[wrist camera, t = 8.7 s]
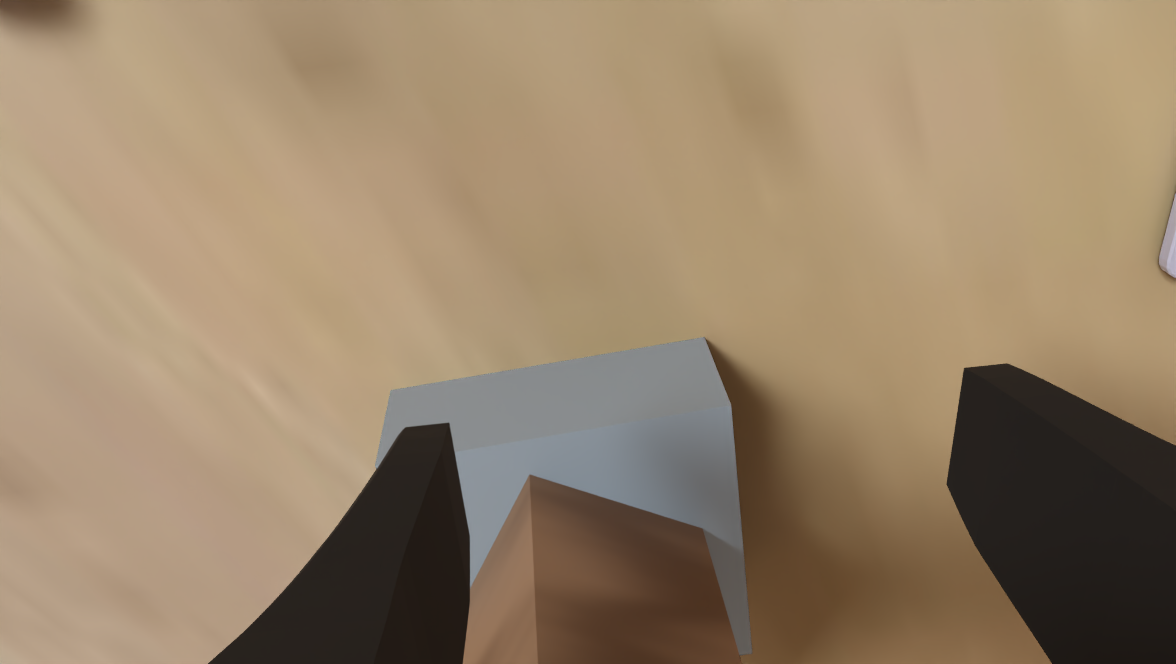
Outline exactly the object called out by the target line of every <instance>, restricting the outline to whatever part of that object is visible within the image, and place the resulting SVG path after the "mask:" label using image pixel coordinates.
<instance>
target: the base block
mask: <svg viewBox="0 0 1176 664" xmlns="http://www.w3.org/2000/svg"><path fill="white" fill-rule="evenodd" d="M440 423H449V424H450V429H451V435H452V440H453V446H454V451H455V457H456V462H457V468H458V473H459V479H460V484H461V490H462V496H463V501H464V507H465V512H466V518H467V523H468V529H469V534H470V588H471V586H472V584H473V582H474V580H475V578H476V576H477V574H478V572H479V570H480V568H481V567H482V565H483V563H484V561H485V559H486V557H487V555H488V553H489V551H490V549H491V547H492V545H493V543H494V542H495V540H496V538H497V536H498V534H499V532H500V530H501V528H502V526H503V524H504V522H505V520H506V518H507V517H508V515H509V513H510V511H511V509H512V507H513V505H514V503H515V501H516V499H517V497H518V495H519V494H520V492H521V490H522V488H523V486H524V484H525V482H526V480H527V478H528V476H529V474H530V475H533V476H536V477H540V478H543V479H546V480H549V481H552V482H556V483H559V484H562V485H565V486H568V487H572V488H575V489H578V490H581V491H584V492H588V493H591V494H594V495H597V496H600V497H604V498H607V499H610V500H613V501H616V502H620V503H623V504H626V505H629V506H633V507H636V508H639V509H642V510H645V511H649V512H652V513H655V514H658V515H661V516H664V517H668V518H671V519H674V520H677V521H680V522H684V523H687V524H690V525H693V526H696V527H700V528H703V532H704V535H705V538H706V542H707V545H708V549H709V552H710V556H711V559H712V562H713V566H714V569H715V573H716V576H717V580H718V583H719V587H720V590H721V593H722V597H723V600H724V604H725V607H726V611H727V614H728V617H729V621H730V624H731V628H732V631H733V635H734V638H735V642H736V645H737V648H738V652H739V655H746V654H752V643H751V632H750V620H749V608H748V596H747V585H746V573H745V561H744V550H743V538H742V526H741V514H740V503H739V491H738V479H737V468H736V456H735V444H734V432H733V421H732V409H731V403H730V401H729V398H728V396H727V393H726V391H725V388H724V386H723V383H722V381H721V378H720V376H719V373H718V371H717V368H716V365H715V363H714V360H713V358H712V355H711V353H710V350H709V348H708V345H707V343H706V340H705V338H704V337H702V338H697V339H691V340H685V341H679V342H673V343H667V344H661V345H655V346H649V347H643V348H637V349H632V350H626V351H620V352H614V353H608V354H602V355H596V356H590V357H584V358H578V359H573V360H567V361H561V362H555V363H549V364H543V365H537V366H531V367H525V368H519V369H514V370H508V371H502V372H496V373H490V374H484V375H478V376H472V377H466V378H460V379H454V380H449V381H443V382H437V383H431V384H425V385H419V386H413V387H407V388H401V389H395V390H391V391H390V396H389V401H388V406H387V411H386V415H385V420H384V425H383V430H382V435H381V440H380V444H379V449H378V454H377V459H376V464H375V467H376V469H377V468H378V466H379V465H380V463H381V462H382V460H383V458H384V457H385V455H386V454H387V452H388V450H389V449H390V447H391V446H392V444H393V443H394V441H395V439H396V438H397V436H398V435H399V434H400V432H401V431H402V430H403V429H404V428H405V427H411V426H421V425H430V424H440Z"/></svg>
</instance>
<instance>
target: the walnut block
mask: <svg viewBox="0 0 1176 664" xmlns="http://www.w3.org/2000/svg"><path fill="white" fill-rule="evenodd" d="M463 664H742V662H741V659H740V655H739V652H738V648H737V645H736V642H735V638H734V635H733V631H732V628H731V624H730V621H729V617H728V614H727V611H726V607H725V604H724V600H723V597H722V593H721V590H720V587H719V583H718V580H717V576H716V573H715V569H714V566H713V562H712V559H711V556H710V552H709V549H708V545H707V542H706V538H705V535H704V532H703V528H700V527H696V526H693V525H690V524H687V523H684V522H680V521H677V520H674V519H671V518H668V517H664V516H661V515H658V514H655V513H652V512H649V511H645V510H642V509H639V508H636V507H633V506H629V505H626V504H623V503H620V502H616V501H613V500H610V499H607V498H604V497H600V496H597V495H594V494H591V493H588V492H584V491H581V490H578V489H575V488H572V487H568V486H565V485H562V484H559V483H556V482H552V481H549V480H546V479H543V478H540V477H536V476H533V475H530V474H529V476H528V478H527V480H526V482H525V484H524V486H523V488H522V490H521V492H520V494H519V495H518V497H517V499H516V501H515V503H514V505H513V507H512V509H511V511H510V513H509V515H508V517H507V518H506V520H505V522H504V524H503V526H502V528H501V530H500V532H499V534H498V536H497V538H496V540H495V542H494V543H493V545H492V547H491V549H490V551H489V553H488V555H487V557H486V559H485V561H484V563H483V565H482V567H481V568H480V570H479V572H478V574H477V576H476V578H475V580H474V582H473V584H472V586H471V588H470V606H469V615H468V624H467V632H466V641H465V649H464V658H463Z"/></svg>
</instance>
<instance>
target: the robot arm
mask: <svg viewBox="0 0 1176 664" xmlns="http://www.w3.org/2000/svg"><path fill="white" fill-rule="evenodd" d="M1159 265H1160V267H1161V269H1162V270H1163V271H1165V272H1166V273H1168V274H1170V275H1171V276H1173V277H1174V278H1176V194H1175V198H1174V202H1173V205H1172V209H1171V213H1170V217H1169V221H1168V225H1167V229H1166V233H1165V237H1164V240H1163V244H1162V248H1161V252H1160V256H1159ZM947 486H948V488H949V491H950V493H951V495H952V497H953V500H954V502H955V504H956V506H957V509H958V511H959V513H960V515H961V518H962V520H963V522H964V524H965V526H966V528H967V530H968V532H969V534H970V536H971V538H972V540H973V542H974V544H975V546H976V548H977V549H978V551H979V552H980V554H981V556H982V557H983V559H984V560H985V562H986V563H987V565H988V567H989V568H990V570H991V571H992V573H993V574H994V576H995V577H996V579H997V580H998V582H999V584H1000V585H1001V587H1002V588H1003V590H1004V591H1005V593H1006V594H1007V596H1008V597H1009V599H1010V600H1011V602H1012V603H1013V605H1014V606H1015V608H1016V609H1017V611H1018V612H1019V614H1020V615H1021V617H1022V618H1023V620H1024V622H1025V623H1026V625H1027V626H1028V628H1029V629H1030V631H1031V632H1032V634H1033V635H1034V637H1035V638H1036V640H1037V641H1038V643H1039V644H1040V646H1041V647H1042V649H1043V650H1044V652H1045V653H1046V655H1047V656H1048V658H1049V659H1050V661H1051V662H1052V664H1176V446H1175V445H1173V444H1171V443H1169V442H1167V441H1165V440H1162V439H1160V438H1158V437H1156V436H1154V435H1152V434H1150V433H1148V432H1146V431H1144V430H1142V429H1140V428H1138V427H1136V426H1134V425H1132V424H1130V423H1128V422H1126V421H1124V420H1122V419H1120V418H1118V417H1116V416H1114V415H1112V414H1110V413H1108V412H1106V411H1104V410H1102V409H1100V408H1098V407H1096V406H1094V405H1092V404H1090V403H1088V402H1087V401H1085V400H1083V399H1081V398H1079V397H1077V396H1075V395H1073V394H1071V393H1069V392H1067V391H1065V390H1063V389H1061V388H1059V387H1057V386H1055V385H1053V384H1051V383H1049V382H1047V381H1045V380H1043V379H1041V378H1039V377H1037V376H1035V375H1033V374H1030V373H1028V372H1026V371H1024V370H1022V369H1019V368H1017V367H1014V366H1012V365H1010V364H998V365H988V366H979V367H969V368H964V372H963V379H962V386H961V392H960V399H959V405H958V412H957V419H956V425H955V432H954V438H953V445H952V452H951V458H950V465H949V472H948V478H947ZM469 606H470V534H469V529H468V523H467V518H466V512H465V507H464V501H463V496H462V490H461V484H460V479H459V473H458V468H457V462H456V457H455V451H454V446H453V440H452V435H451V429H450V424H449V423H440V424H430V425H421V426H411V427H405V428H404V429H403V430H402V431H401V432H400V434H399V435H398V436H397V438H396V439H395V441H394V443H393V444H392V446H391V447H390V449H389V450H388V452H387V454H386V455H385V457H384V458H383V460H382V462H381V463H380V465H379V466H378V468H377V469H376V471H375V472H374V474H373V475H372V477H371V478H370V480H369V481H368V483H367V484H366V486H365V487H364V489H363V490H362V492H361V493H360V494H359V496H358V497H357V499H356V500H355V501H354V503H353V504H352V506H351V507H350V508H349V510H348V511H347V513H346V514H345V515H344V517H343V518H342V520H341V521H340V522H339V524H338V525H337V526H336V528H335V529H334V530H333V532H332V533H331V534H330V536H329V537H328V538H327V539H326V541H325V542H324V543H323V544H322V545H321V547H320V548H319V549H318V550H317V552H316V553H315V554H314V555H313V557H312V558H311V559H310V560H309V562H308V563H307V564H306V565H305V566H304V568H303V569H302V570H301V571H300V573H299V574H298V575H297V576H296V577H295V578H294V580H293V581H292V582H291V583H290V584H289V585H288V586H287V587H286V589H285V590H284V591H283V592H282V593H281V594H280V595H279V596H278V597H277V598H276V600H275V601H274V602H273V603H272V604H271V605H270V606H269V607H268V608H267V609H266V610H265V611H264V612H263V613H262V614H261V615H260V616H259V617H258V618H257V619H256V620H255V621H254V622H253V623H252V624H251V625H250V626H249V627H248V628H247V629H246V630H245V631H244V632H243V633H242V634H241V635H240V636H239V637H238V638H236V639H235V640H234V641H233V642H232V643H231V644H230V645H229V646H227V647H226V648H225V649H224V650H223V651H222V652H221V653H219V654H218V655H217V656H216V657H215V658H214V659H213V660H212V661H210V662H209V663H208V664H463V658H464V649H465V641H466V632H467V624H468V615H469Z"/></svg>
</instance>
